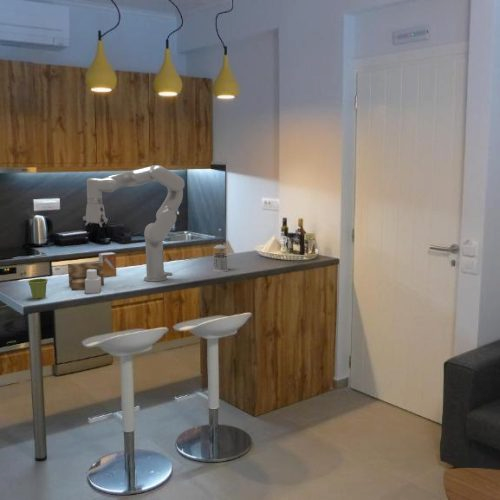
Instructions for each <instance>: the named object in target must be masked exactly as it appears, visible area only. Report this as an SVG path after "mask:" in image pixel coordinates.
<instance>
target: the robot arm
mask: <svg viewBox="0 0 500 500" xmlns="http://www.w3.org/2000/svg"><path fill="white" fill-rule="evenodd" d="M155 182H157V183H159V184H161V185H162V186H164V187H166V188H167V195H166V197H165V199H164V201H163V203H162V204H161V205H160V207H159V208H158V210H157V212H156V214H155V218H156V220H155V222H151V223H149V224H147V225H146V226H145V229H144V233H143V234H144V241H145V266H146V267H145V268H146V276H145V277H143V280H144V281H146V282H150V283H151V282H152V283H153V282H155V283H157V282H163V281H166V280H167V278H168V277H172V276H173V272H170V271H167V272H166V271H165V270H164V269H165V268H164V265H165V263H164V243H163V241H164V240H165V239H166V237H167V236H168V235H169V233H170V231H171V230H172V228H173V227H174V225H175V224H176V222H177V213H176V212H177V210H178V209H179V207H180V205H181V204H182V201H183V198H184V197H183V196H184V188H185V185H186V183H185V180H184V179H183V178H182V176H180V175H179V174H176V173H175V172H172V171H170V170H169V169H167V168H165V167H163V165H158V164H157V165H156V164H155V165H150V166H146V167H141V168H137V169H133V170H129V171H126V172H123V173H118V174H113V175H109V176H106V177H104V178H99V177H90V178H87V180H86V197H87V200H86V201H87V202H86V203H87V204H86V209H85V215H83V216H82V219H83V220H82V221H83V223H84V225H85V227H86V228H85V230H86V232H85V233H86V234H90V233H92V224H99V235H105V234H106V225H107V224H108V221H109V219H108V218H107V217H106V212H105V207H104V206H105V205H104V204H103V202H104V201H103V200H104V199H103V193H113V192H114V191H116V190H118V189H121V188H127V187H138V186H142V185H146V184H150V183H155Z"/></svg>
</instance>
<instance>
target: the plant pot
mask: <svg viewBox="0 0 500 500" xmlns="http://www.w3.org/2000/svg"><path fill="white" fill-rule="evenodd" d="M48 281H49V280H48V278H34V279H29V280H27V283H28V286H29V289H30V292H31V298H32V299H33V300H34V299H35V300H38V299H44V298H46V296H47V295H46V294H47V283H48Z"/></svg>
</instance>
